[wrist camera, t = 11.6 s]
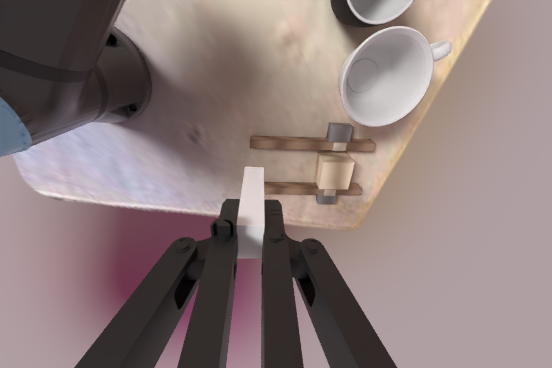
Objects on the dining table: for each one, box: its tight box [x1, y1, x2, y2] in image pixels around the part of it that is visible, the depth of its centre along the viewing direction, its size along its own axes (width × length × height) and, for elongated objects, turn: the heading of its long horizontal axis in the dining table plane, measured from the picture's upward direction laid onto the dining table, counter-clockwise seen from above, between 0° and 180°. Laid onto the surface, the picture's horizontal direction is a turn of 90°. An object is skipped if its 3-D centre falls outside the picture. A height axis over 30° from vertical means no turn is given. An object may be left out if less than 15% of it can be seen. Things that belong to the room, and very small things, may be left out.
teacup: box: [338, 26, 451, 127], centre depth 32 cm, size 12×15×10 cm
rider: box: [314, 152, 355, 189], centre depth 43 cm, size 6×6×5 cm
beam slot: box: [250, 123, 376, 204], centre depth 44 cm, size 24×18×3 cm
